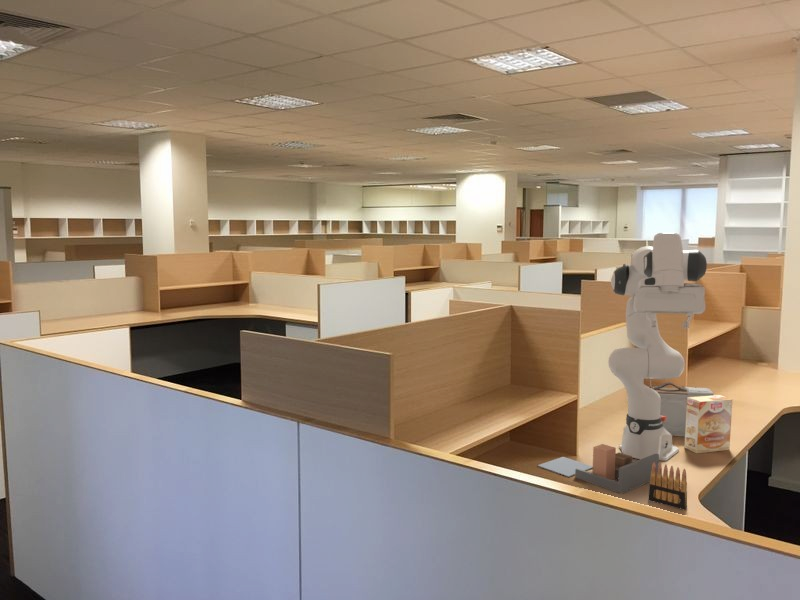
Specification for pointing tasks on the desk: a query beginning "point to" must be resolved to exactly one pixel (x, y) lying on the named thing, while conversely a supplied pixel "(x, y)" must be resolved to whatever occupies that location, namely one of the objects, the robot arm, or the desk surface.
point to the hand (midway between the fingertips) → (669, 327)
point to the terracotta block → (604, 461)
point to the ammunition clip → (668, 487)
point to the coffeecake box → (708, 423)
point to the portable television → (677, 405)
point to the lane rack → (623, 475)
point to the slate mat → (565, 466)
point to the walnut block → (622, 460)
